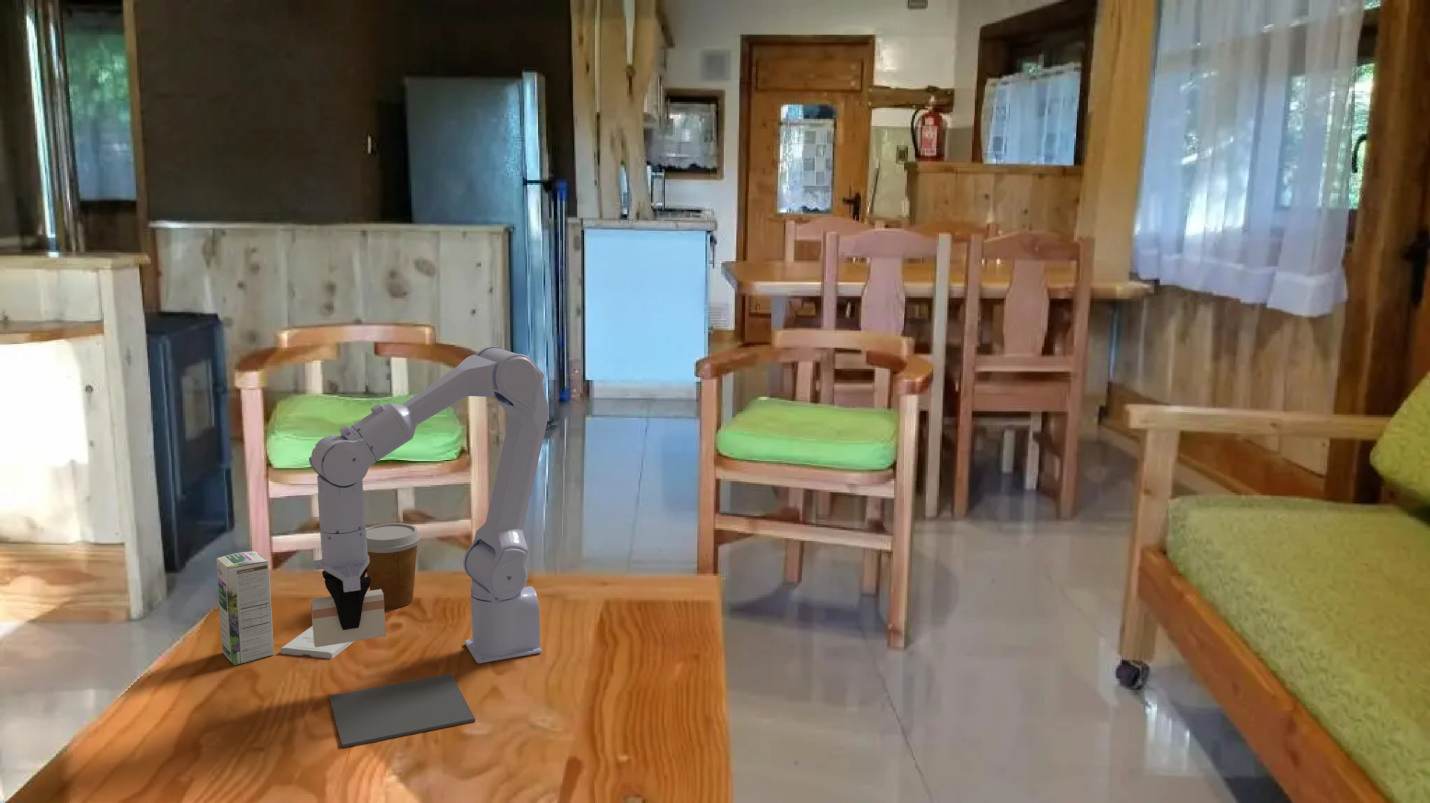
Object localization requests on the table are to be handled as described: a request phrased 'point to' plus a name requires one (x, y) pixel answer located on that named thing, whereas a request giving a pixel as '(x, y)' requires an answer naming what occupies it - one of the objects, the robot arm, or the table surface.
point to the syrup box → (245, 607)
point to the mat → (399, 710)
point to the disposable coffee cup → (392, 562)
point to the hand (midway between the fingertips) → (349, 624)
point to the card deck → (330, 628)
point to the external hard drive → (312, 646)
